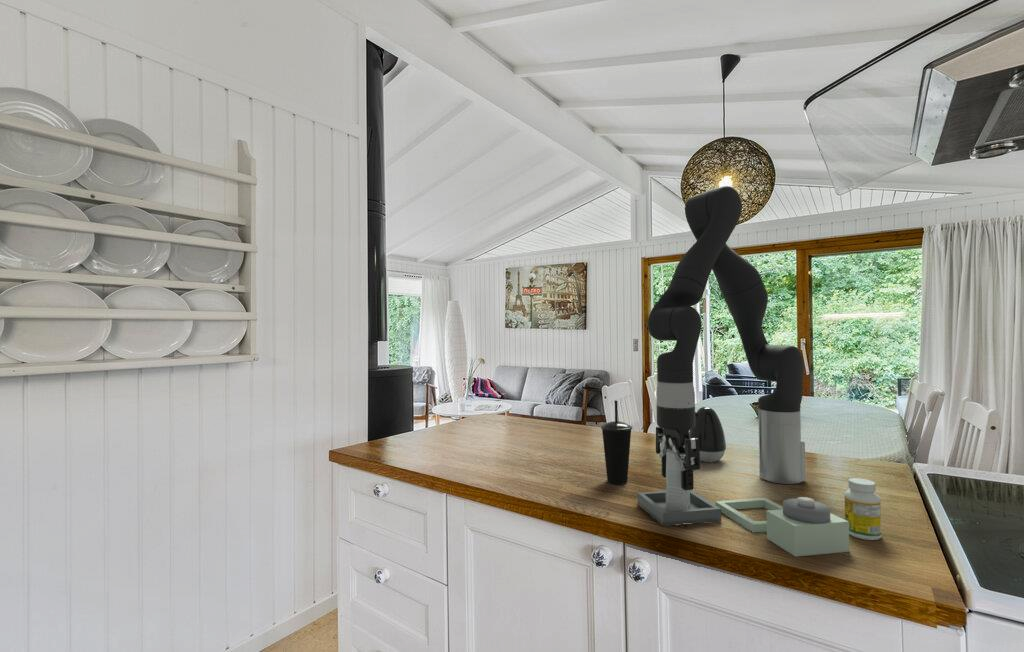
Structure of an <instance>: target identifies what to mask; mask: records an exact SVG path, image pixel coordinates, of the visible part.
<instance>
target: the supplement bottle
mask: <svg viewBox="0 0 1024 652" xmlns="http://www.w3.org/2000/svg"><path fill="white" fill-rule="evenodd" d="M847 481H848V485H847V486H848V488H849V489H847V490H846V491H845V492H844V495H843V496H844V520H846V521H848V522H849V536H852V537H854V538H857V539H861V540H865V541H866V540H867V541H877V540H880V539H881V538H882V502H881V497H880V496H879V495H878V494H877V493H875V492H876V490H877V488H876V487H877V486H876V482H875V481H873V480H870V479H865V478H859V477H857V478H856V477H853V478H849V479H848V480H847Z"/></svg>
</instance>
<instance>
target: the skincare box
mask: <svg viewBox="0 0 1024 652" xmlns="http://www.w3.org/2000/svg"><path fill="white" fill-rule="evenodd" d="M680 454H685V453H680ZM683 460H684V463H685V459H683ZM665 491H666V511H673V510H686V509H689V506H690V490H684V489H682V487H681V467H680V464H679V461H677V460H676V459H675V455H674V452H673V451H672V450H670V449H668V451H667V453H666V478H665Z"/></svg>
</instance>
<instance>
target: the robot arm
mask: <svg viewBox="0 0 1024 652" xmlns="http://www.w3.org/2000/svg"><path fill="white" fill-rule="evenodd" d="M742 212H743V201H742V198H741V195H740V194H739V191H737V189H735V187H733V186H730V185H723V186H718V187H715V188H712V189H710V190H707V191H703V192H701V193H699V194H695V195H693V196H691V197H689V198H688V199H687V200H686V202H685V205H684V213H685V219H686V221H687V224H688V226H689V229H690V230H691V233H692V234H693V236H694V238H695V239H696V241H695V243H694V244H693V245H692V246H691V247H690V248H689V249H688V250H687V251H686V252H685V254H684V255H682V257H681V259H680V260H679V261H678V263H677V265H676V268H675V270H674V272H673V276H672V277H671V281H670V283H669V286H668V287H667V289H666V290H665V291H664V292H663V294H662V295H661V296H660V298H659V299H658V300H657V302H656V303H655V304H654V306H653V307H652V309H651V311H650V313H649V315H648V319H647V330H648V333H649V335H650V336H651V337H652V338H653V339H654V340H658V341H661V342H662V341H663V342H664V341H667V342H669V341H670V342H671V341H674V342H675V345H674V347H673V349H672V351H667V352H662V353H660V354H658V357H657V360H656V376H657V377H656V378H657V379H656V393H655V396H656V398H655V399H656V400H655V401H656V404H655V405H656V426H655V453H656V454H657V455H659V459H661V476H662V477H663V478H665V479H666V453H667V451H668V449H670V450H672V451H673V452H674V455H675V459H676V460H677V461H679V464H680V467H681V487H682V489H684V490H692V491H693V489H694V488H695V487H694V472H695V471H699V470H701V461H700V450H699V439H698V438H690V435H689V430H690V429H692V428H694V427H695V412H696V396H695V394H696V393H695V387H694V365H693V364H694V360H695V355H696V351H697V346H698V342H699V339H700V335H701V331H702V326H703V325H702V317H701V315H700V313H699V311H698V310H697V309H696V308H695V307H693V306H695V305H697V304H699V303H700V302H701V300H702V298H703V295H704V293H705V290H706V287H707V285H708V281H709V278H710V275H711V272H713V275H714V277H715V279H716V282H717V285H718V287H719V289H720V292H721V294H722V297H723V299H724V302H725V305H726V307H727V308H728V310H729V312H730V315H731V317H732V319H733V321H734V324H735V326H736V329H737V332H738V334H739V338H740V340H741V344H742V347H743V350H744V353H745V358H746V361H747V363H748V366H749V369H750V371H751V373H752V375H753V376H754V377H755V378H756V379H758V380H760V381H764V382H772V383H773V382H774V383H776V386H775V389H774V391H773V392H772V393H769V394H765V395H762V396H759V397H758V400H757V408H758V409H757V410H758V411H757V412H758V413H757V415H758V416H757V417H758V459H759V461H758V462H759V465H758V466H759V467H758V469H759V471H758V472H759V478H760V479H762V478H763V479H762V480H764V479H765V480H764V481H766V480H767V481H768V482H770V483H773V484H774V483H776V484H784V485H797V484H800V483H802V482H806V477H807V475H806V442H805V441H804V440H802V431H801V430H802V428H801V427H802V425H801V423H802V422H801V420H802V419H801V417H802V416H801V404H802V400H803V394H804V393H803V391H804V369H805V368H804V367H805V366H804V365H805V364H804V358H803V354H802V352H801V350H800V349H799V348H798V347H797V346H795V345H790V344H770V343H769V342H768V341H767V339H766V336H765V334H764V333H765V332H764V330H763V321H764V317H765V314H766V310H767V306H768V302H769V295H768V292H767V289H766V287H765V284H764V282H763V279H762V276H761V274H760V273H759V271H758V269H757V268H756V267H755V266H754V265H753V264H752V263H751V262H749V261H748V260H747V259H745V258H744V257H742V255H740V254H738V253H737V252H736V251H735V250H733V249H732V248H731V246H729V245H728V243H727V242H728V241H729V238H730V236H731V235H732V234H733V232H734V230H735V228H736V226H737V225H738V223H739V221H740V218H741V215H742ZM680 453H685V454H680ZM694 457H695V458H694ZM683 459H685V463H684V460H683Z"/></svg>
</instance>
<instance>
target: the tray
mask: <svg viewBox="0 0 1024 652" xmlns="http://www.w3.org/2000/svg"><path fill="white" fill-rule="evenodd" d="M637 505H638V506H639V507H640V508H641V507H642V508H643V511H645V513H647V512H648V513H649V514H650V515H649V514H648V513H647V514H648V515H649V516H650V517H651V518H653V519H654V520H655V519H656V520H657V523H659V524H660V525H661V524H662V525H663V526H662V525H661V526H662V527H669V526H668V525H675V526H677V525H676V524H683V523H700V524H709V523H708V522H713V523H720V522H721V523H722V512H721V509H720V508H719V507H717V506H716V505H715V504H714V503H712V502H711V501H709V500H708V499H706V498H705V497H703V496H701V495H699V494H698V493H696V492H695V491H693V489H692V490H690V506H689V509H686V510H673V511H666V490H661V491H660V490H659V491H646V492H645V491H642V492H637ZM642 508H641V509H642ZM705 522H706V523H705Z"/></svg>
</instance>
